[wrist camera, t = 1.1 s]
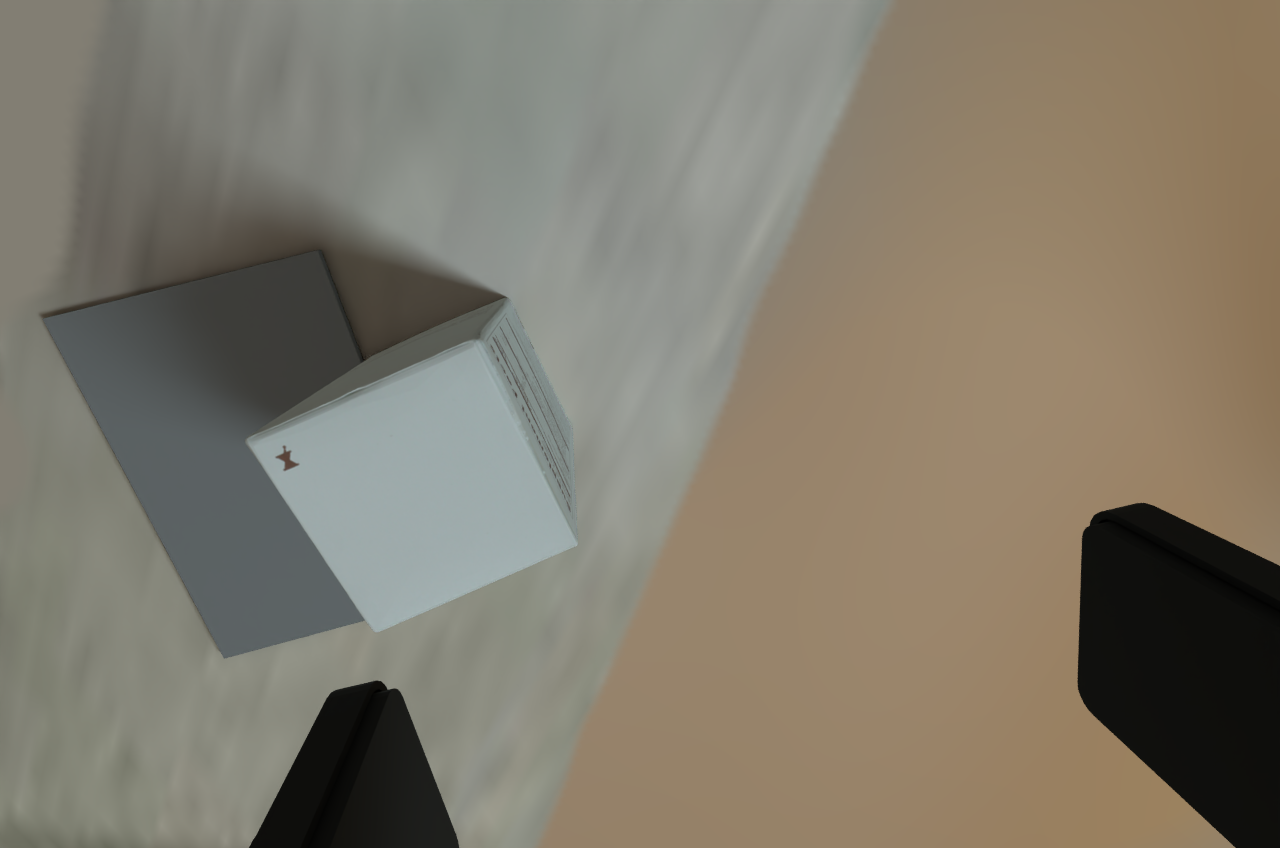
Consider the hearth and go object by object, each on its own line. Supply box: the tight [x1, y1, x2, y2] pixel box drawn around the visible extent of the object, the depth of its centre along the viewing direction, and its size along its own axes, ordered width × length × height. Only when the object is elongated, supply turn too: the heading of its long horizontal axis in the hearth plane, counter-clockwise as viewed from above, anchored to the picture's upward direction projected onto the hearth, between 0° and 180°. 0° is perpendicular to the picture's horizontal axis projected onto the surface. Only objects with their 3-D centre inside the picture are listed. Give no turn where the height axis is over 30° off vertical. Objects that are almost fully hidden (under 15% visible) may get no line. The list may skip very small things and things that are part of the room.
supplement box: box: [245, 297, 578, 632], centre depth 25 cm, size 7×7×13 cm
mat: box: [43, 250, 365, 658], centre depth 30 cm, size 12×18×1 cm, turn 13°
